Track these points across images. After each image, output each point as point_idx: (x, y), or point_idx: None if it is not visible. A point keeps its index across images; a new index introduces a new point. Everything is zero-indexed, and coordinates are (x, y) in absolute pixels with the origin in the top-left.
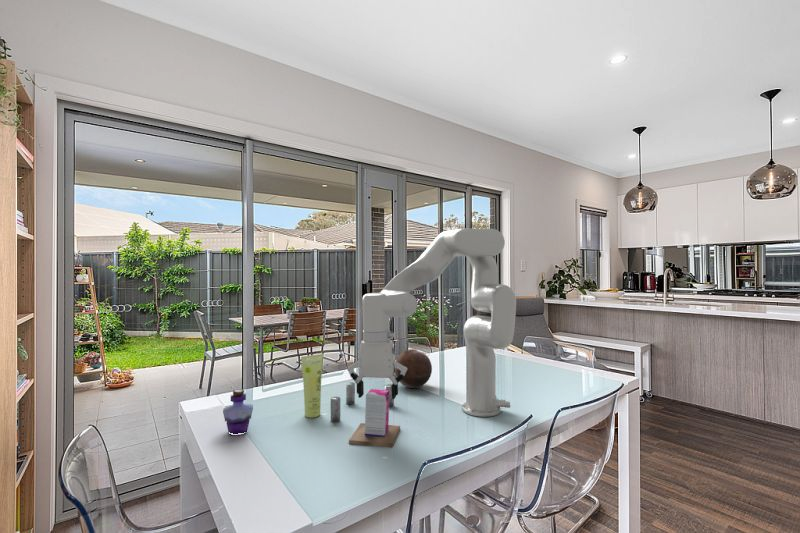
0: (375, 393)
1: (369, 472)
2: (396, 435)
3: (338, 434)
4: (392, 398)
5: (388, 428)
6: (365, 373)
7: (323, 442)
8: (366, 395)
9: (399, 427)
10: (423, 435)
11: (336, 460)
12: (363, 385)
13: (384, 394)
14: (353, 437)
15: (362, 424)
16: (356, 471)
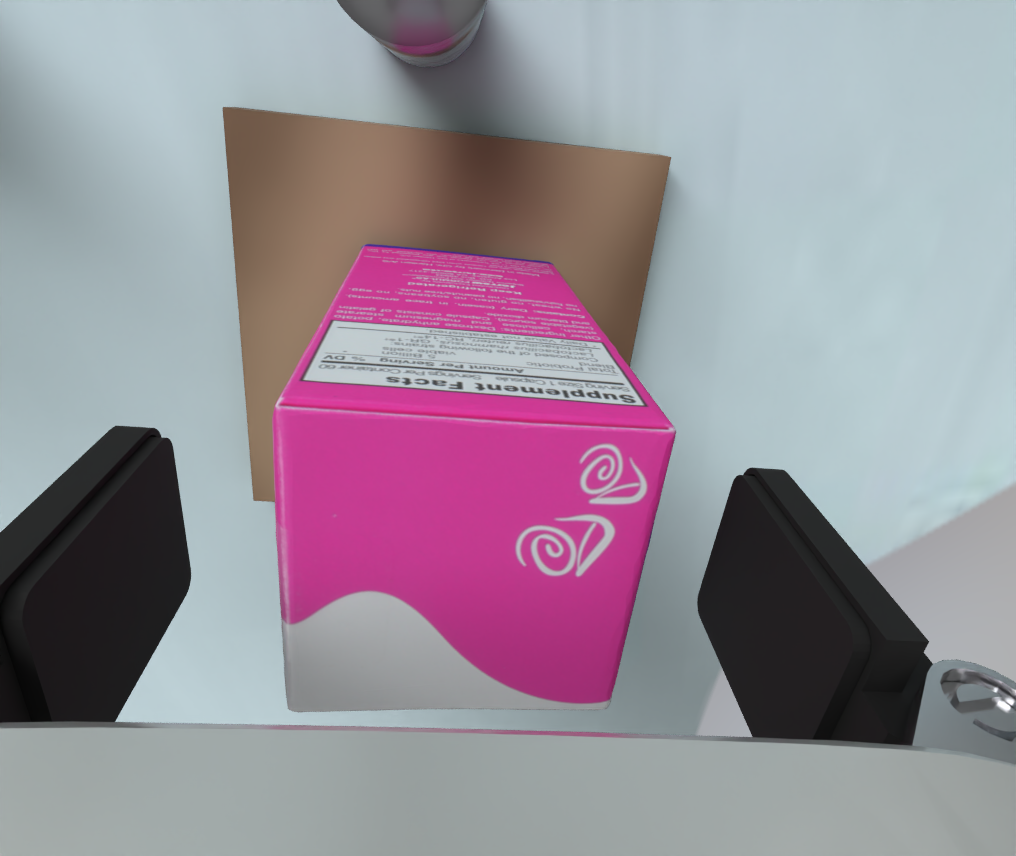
0: (437, 646)
1: None
2: (627, 357)
3: (90, 326)
4: (705, 599)
5: (552, 239)
6: None
7: (47, 481)
8: (302, 706)
9: (661, 202)
10: (855, 279)
11: (268, 678)
12: (82, 534)
13: (595, 652)
14: (272, 453)
15: (255, 148)
16: None
